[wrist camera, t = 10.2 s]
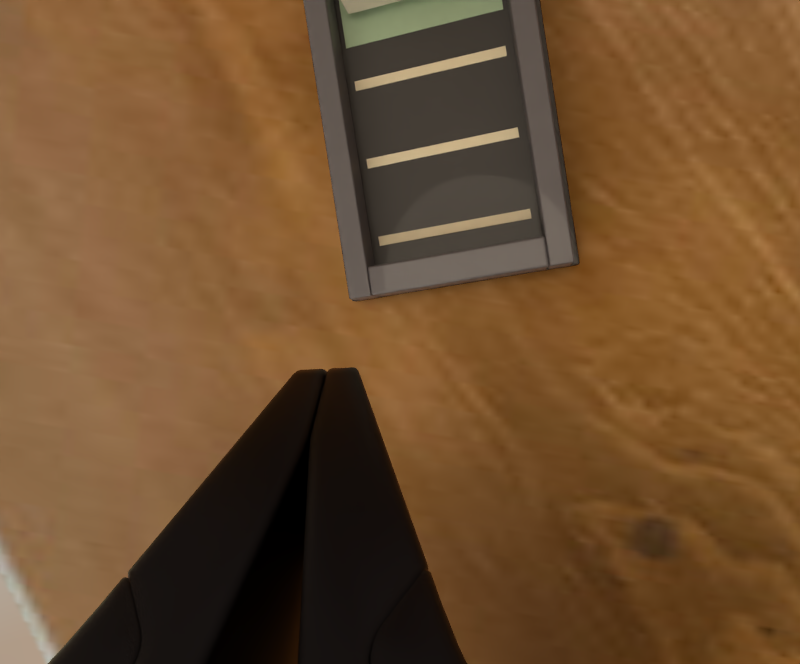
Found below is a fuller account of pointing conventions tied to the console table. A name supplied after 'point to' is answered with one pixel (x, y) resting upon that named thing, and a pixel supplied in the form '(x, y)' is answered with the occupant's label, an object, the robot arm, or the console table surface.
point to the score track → (441, 142)
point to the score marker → (364, 4)
